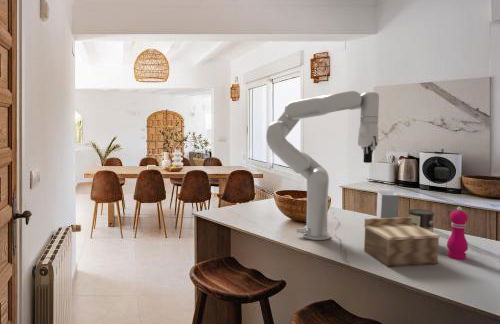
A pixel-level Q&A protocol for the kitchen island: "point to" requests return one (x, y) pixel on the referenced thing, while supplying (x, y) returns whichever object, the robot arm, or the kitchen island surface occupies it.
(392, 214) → the hard drive box
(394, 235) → the box lid
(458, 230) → the pepper mill
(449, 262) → the kitchen island surface
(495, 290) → the kitchen island surface
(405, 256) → the walnut box
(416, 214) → the coffee can
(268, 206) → the kitchen island surface
